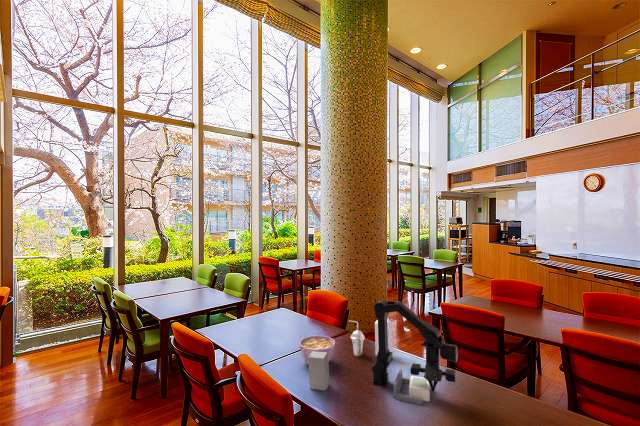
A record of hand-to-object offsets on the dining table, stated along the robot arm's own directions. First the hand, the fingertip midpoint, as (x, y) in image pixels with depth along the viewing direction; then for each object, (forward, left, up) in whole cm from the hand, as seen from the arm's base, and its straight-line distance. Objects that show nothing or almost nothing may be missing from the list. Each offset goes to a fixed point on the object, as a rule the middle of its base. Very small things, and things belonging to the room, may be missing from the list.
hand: (433, 391), depth 144 cm
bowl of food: (-62, +10, -3) cm, 62 cm away
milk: (-31, +33, -3) cm, 45 cm away
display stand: (-10, 0, -2) cm, 10 cm away
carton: (-6, +1, -3) cm, 7 cm away
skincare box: (-51, -12, -3) cm, 52 cm away
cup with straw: (-45, +29, -3) cm, 53 cm away
